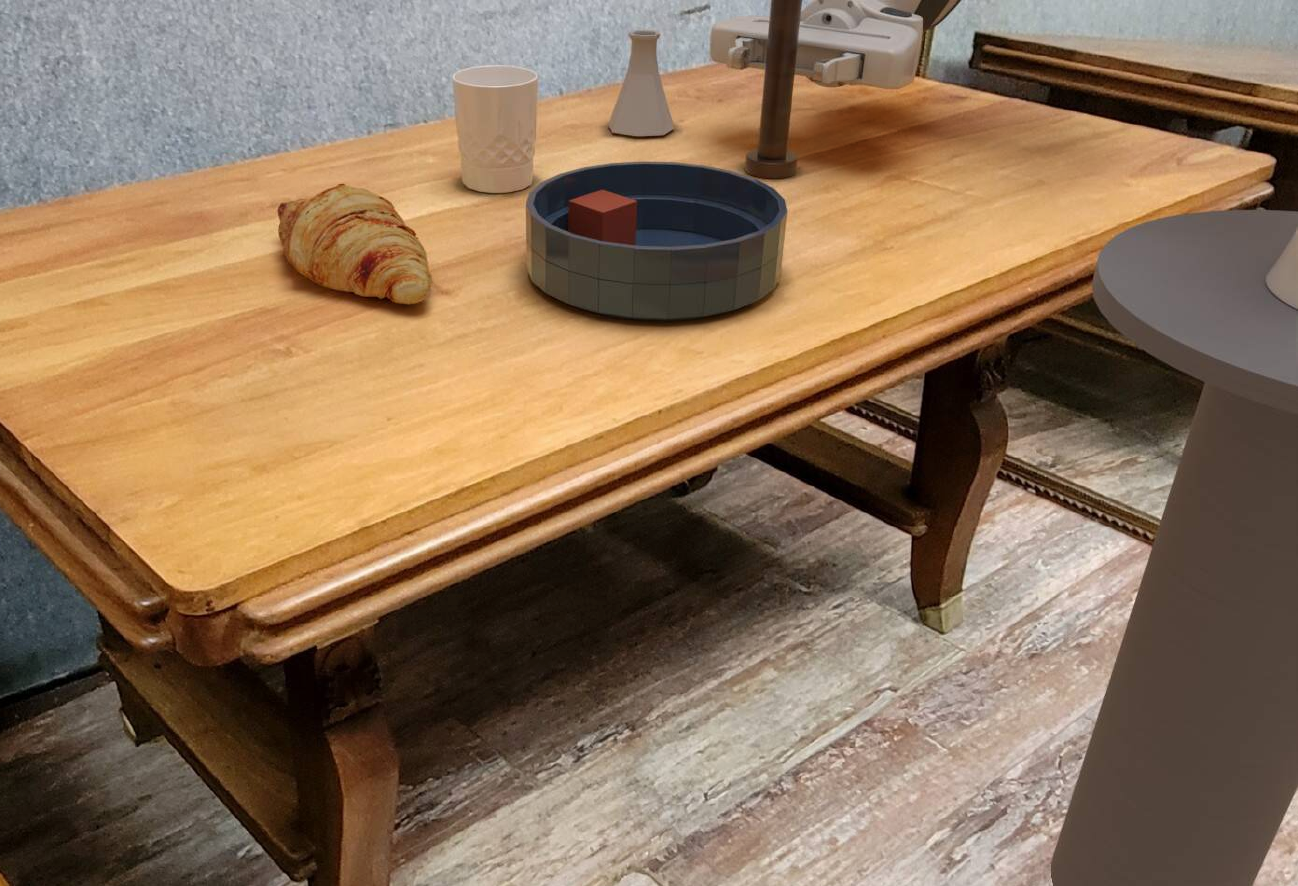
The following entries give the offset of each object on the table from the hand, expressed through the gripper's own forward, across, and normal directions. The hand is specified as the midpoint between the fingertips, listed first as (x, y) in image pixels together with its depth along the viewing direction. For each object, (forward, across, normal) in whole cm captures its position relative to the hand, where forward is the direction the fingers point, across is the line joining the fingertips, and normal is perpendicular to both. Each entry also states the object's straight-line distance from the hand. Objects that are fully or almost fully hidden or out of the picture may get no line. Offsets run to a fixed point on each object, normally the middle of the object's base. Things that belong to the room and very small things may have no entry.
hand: (776, 66), depth 116 cm
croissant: (+42, -16, +10) cm, 46 cm away
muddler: (-1, 0, +10) cm, 10 cm away
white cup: (+17, -20, +10) cm, 28 cm away
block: (+27, -2, +10) cm, 29 cm away
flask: (-6, -18, +10) cm, 22 cm away
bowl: (+28, +4, +10) cm, 30 cm away
